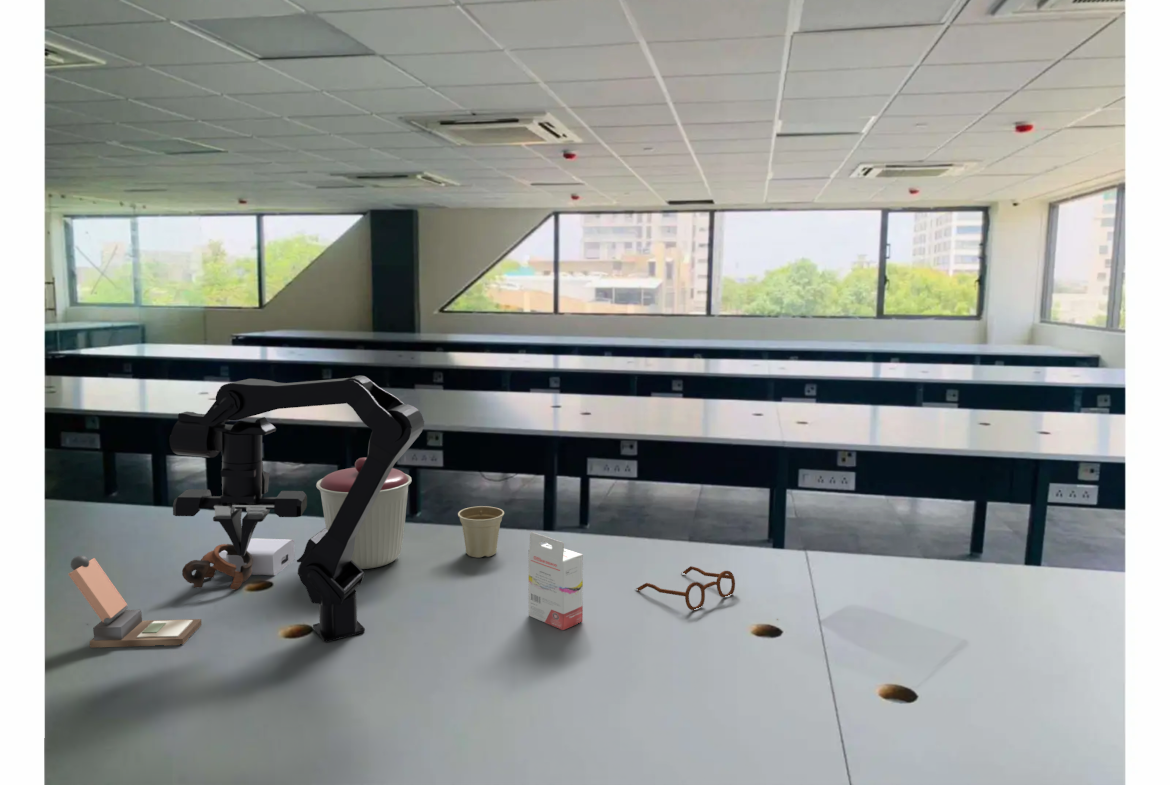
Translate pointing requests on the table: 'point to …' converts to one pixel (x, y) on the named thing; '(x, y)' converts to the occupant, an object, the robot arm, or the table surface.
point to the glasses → (702, 588)
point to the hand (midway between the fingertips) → (242, 555)
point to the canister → (370, 514)
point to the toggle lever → (97, 588)
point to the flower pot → (481, 529)
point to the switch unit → (142, 631)
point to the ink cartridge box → (555, 583)
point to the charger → (265, 556)
